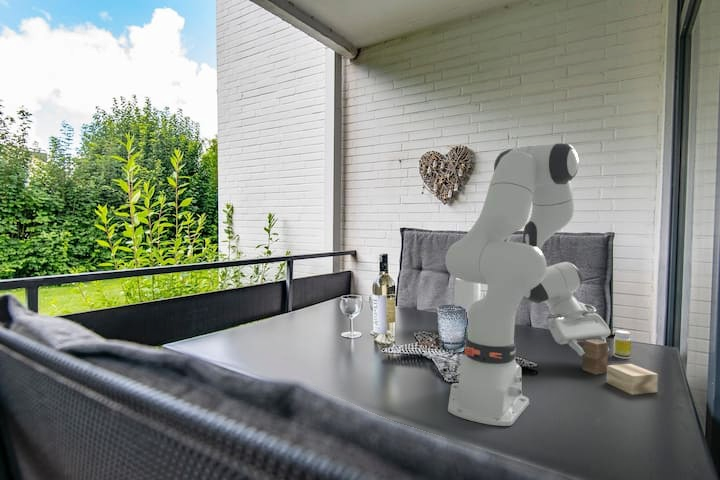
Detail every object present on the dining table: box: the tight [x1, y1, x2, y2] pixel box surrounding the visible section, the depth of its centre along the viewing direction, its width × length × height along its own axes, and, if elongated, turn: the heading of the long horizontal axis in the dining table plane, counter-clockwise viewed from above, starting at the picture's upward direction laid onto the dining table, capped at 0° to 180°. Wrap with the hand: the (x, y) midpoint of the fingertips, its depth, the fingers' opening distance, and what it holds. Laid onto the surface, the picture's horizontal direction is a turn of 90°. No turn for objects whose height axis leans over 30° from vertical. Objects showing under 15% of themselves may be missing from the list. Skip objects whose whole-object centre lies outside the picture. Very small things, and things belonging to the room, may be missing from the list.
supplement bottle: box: [612, 329, 632, 360], centre depth 132 cm, size 5×5×8 cm
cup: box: [454, 277, 482, 318], centre depth 159 cm, size 10×10×22 cm
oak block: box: [605, 363, 659, 396], centre depth 107 cm, size 8×8×5 cm
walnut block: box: [581, 339, 609, 376], centre depth 119 cm, size 4×4×9 cm
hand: (595, 353), depth 118 cm, fingers open, 8 cm apart
